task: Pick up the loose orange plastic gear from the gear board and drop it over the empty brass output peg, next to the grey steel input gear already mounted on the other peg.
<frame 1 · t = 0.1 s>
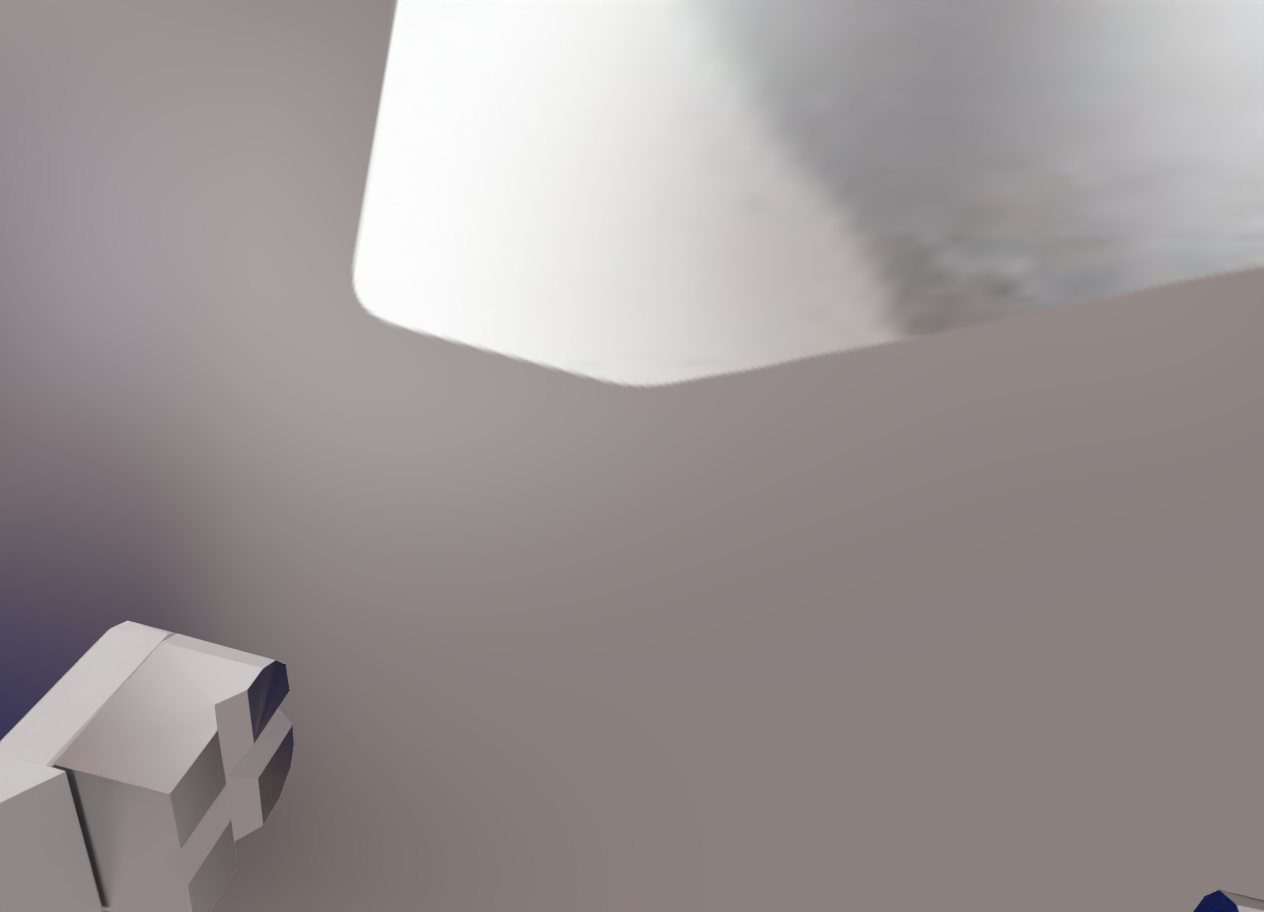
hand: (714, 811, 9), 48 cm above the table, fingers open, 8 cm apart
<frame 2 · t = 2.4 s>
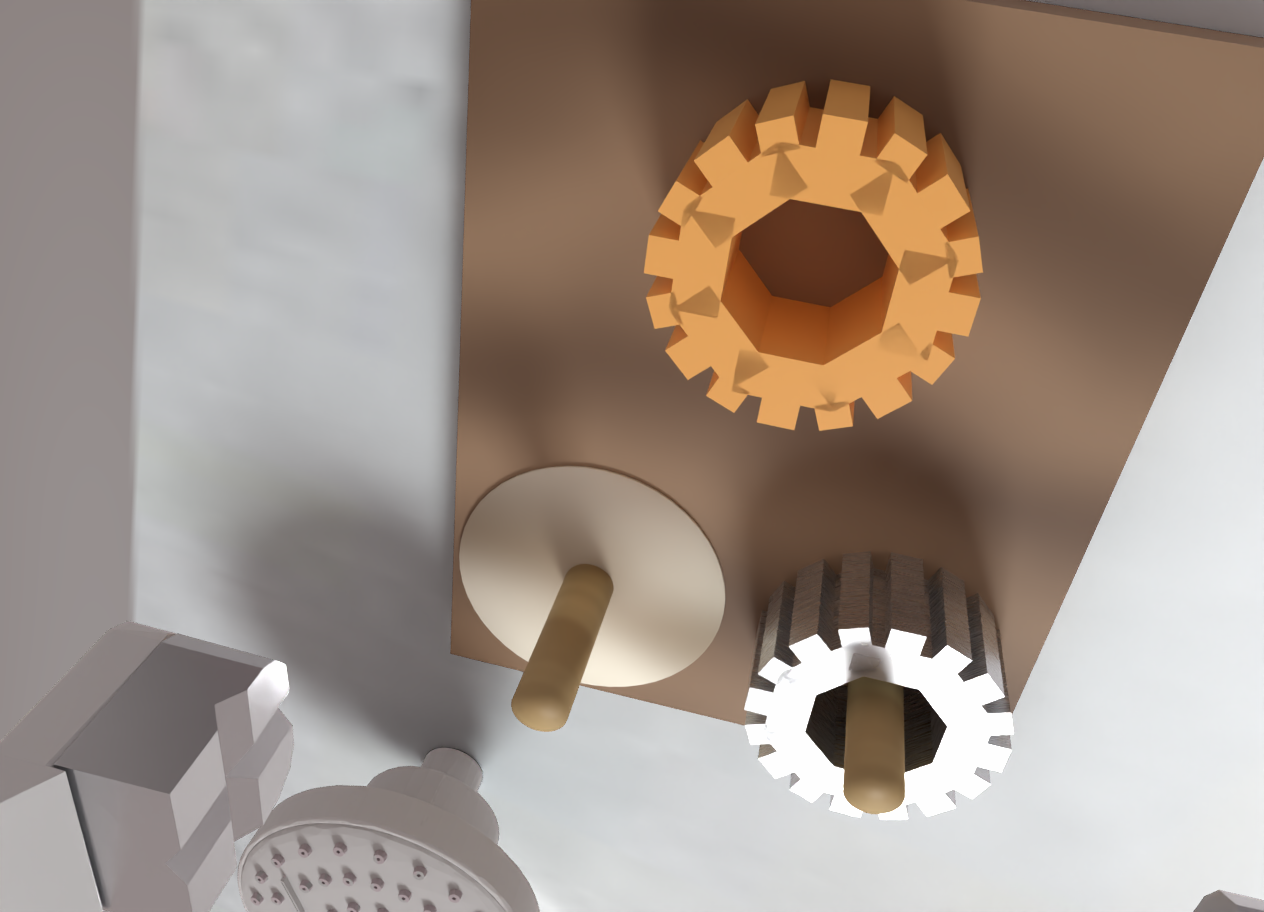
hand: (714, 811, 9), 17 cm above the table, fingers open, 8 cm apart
input gear: (876, 648, 28), resting on gear board
gear board: (778, 400, 26), on the table
showerhead: (462, 765, 37), on the table
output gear: (816, 234, 22), point 1 cm above the table, touching gear board
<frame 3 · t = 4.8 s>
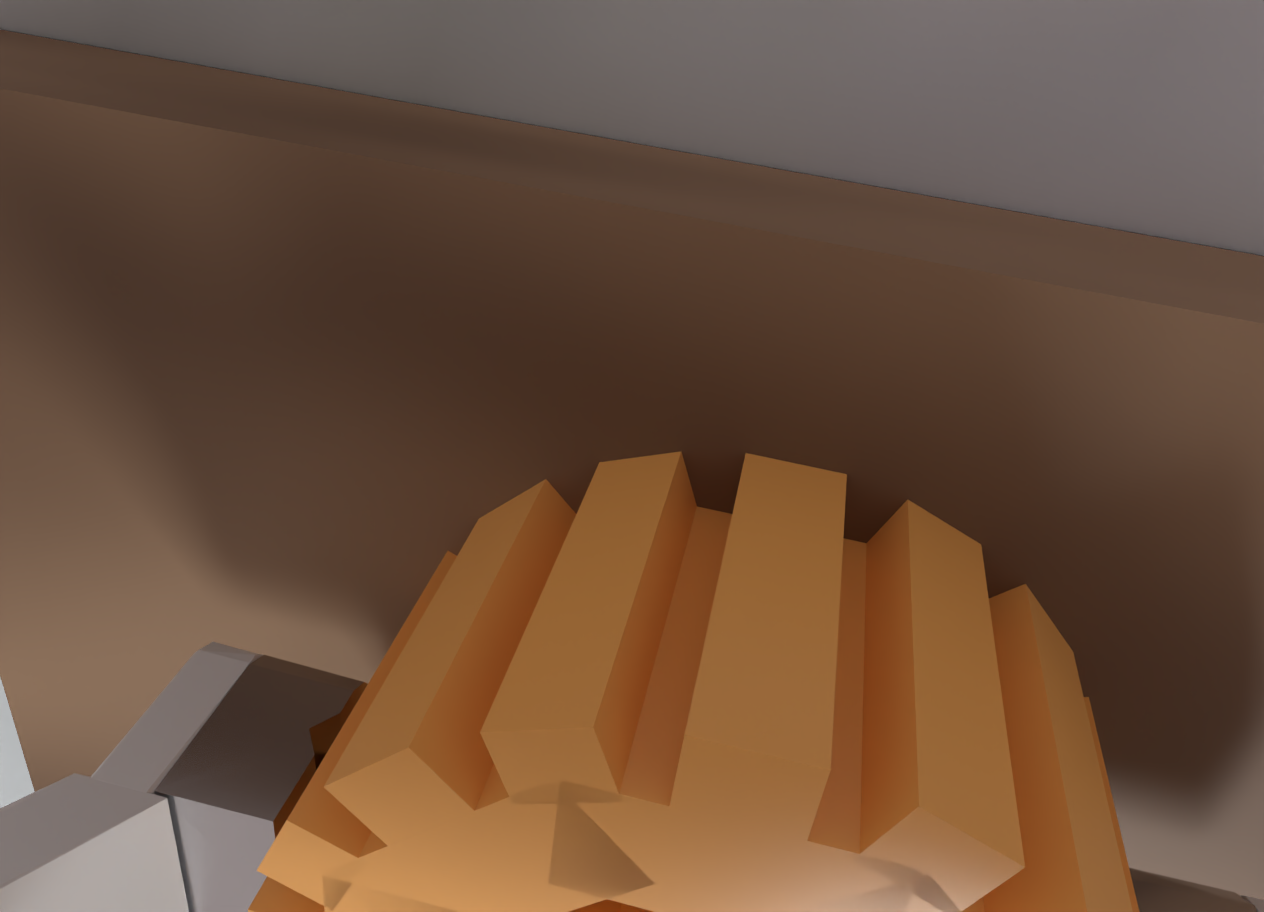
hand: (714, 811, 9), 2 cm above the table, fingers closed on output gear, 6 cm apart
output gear: (727, 742, 10), point 2 cm above the table, touching gear board, gripper
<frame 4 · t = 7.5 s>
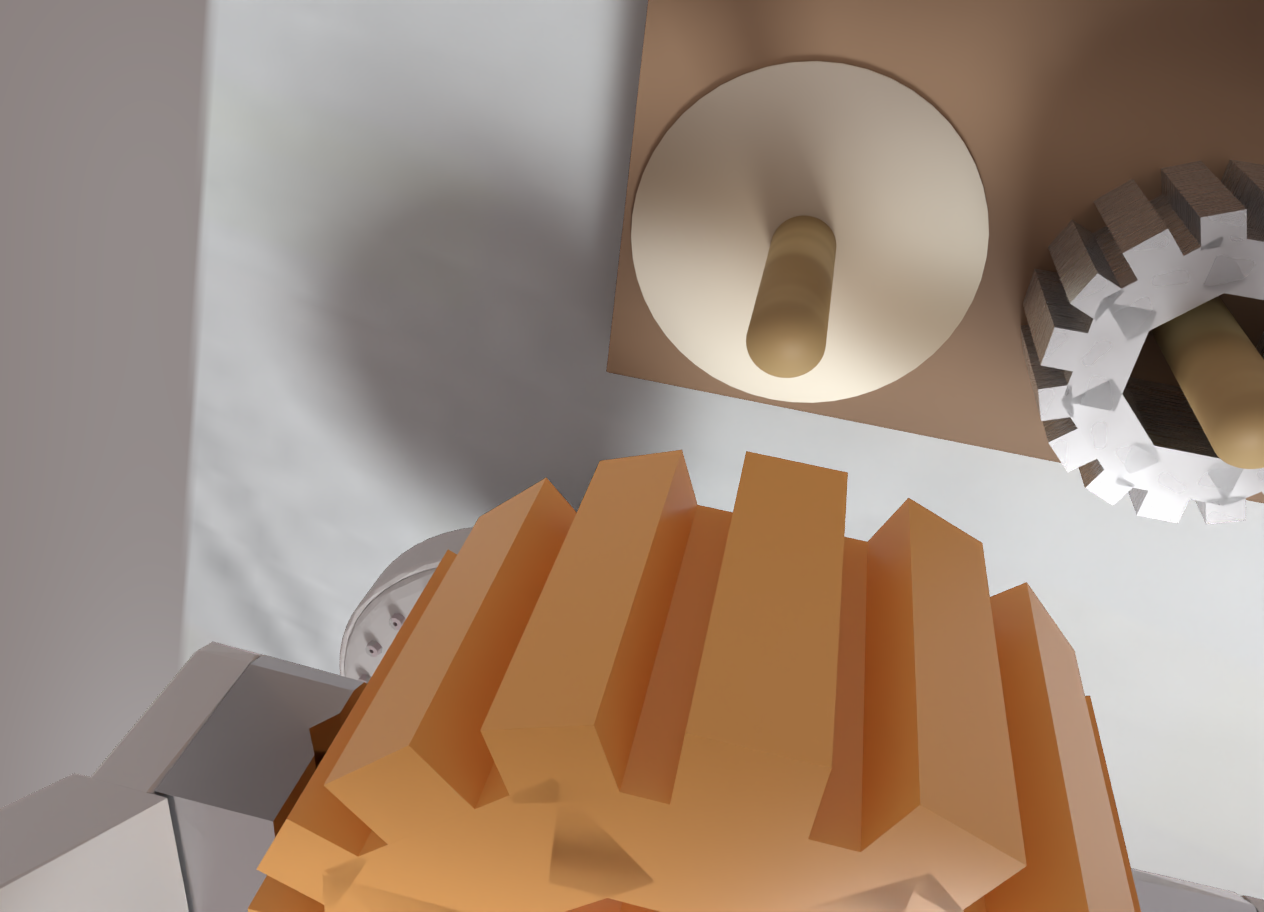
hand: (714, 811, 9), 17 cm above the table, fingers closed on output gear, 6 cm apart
input gear: (1184, 314, 21), resting on gear board
showerhead: (595, 556, 30), on the table
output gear: (727, 741, 10), point 16 cm above the table, touching gripper
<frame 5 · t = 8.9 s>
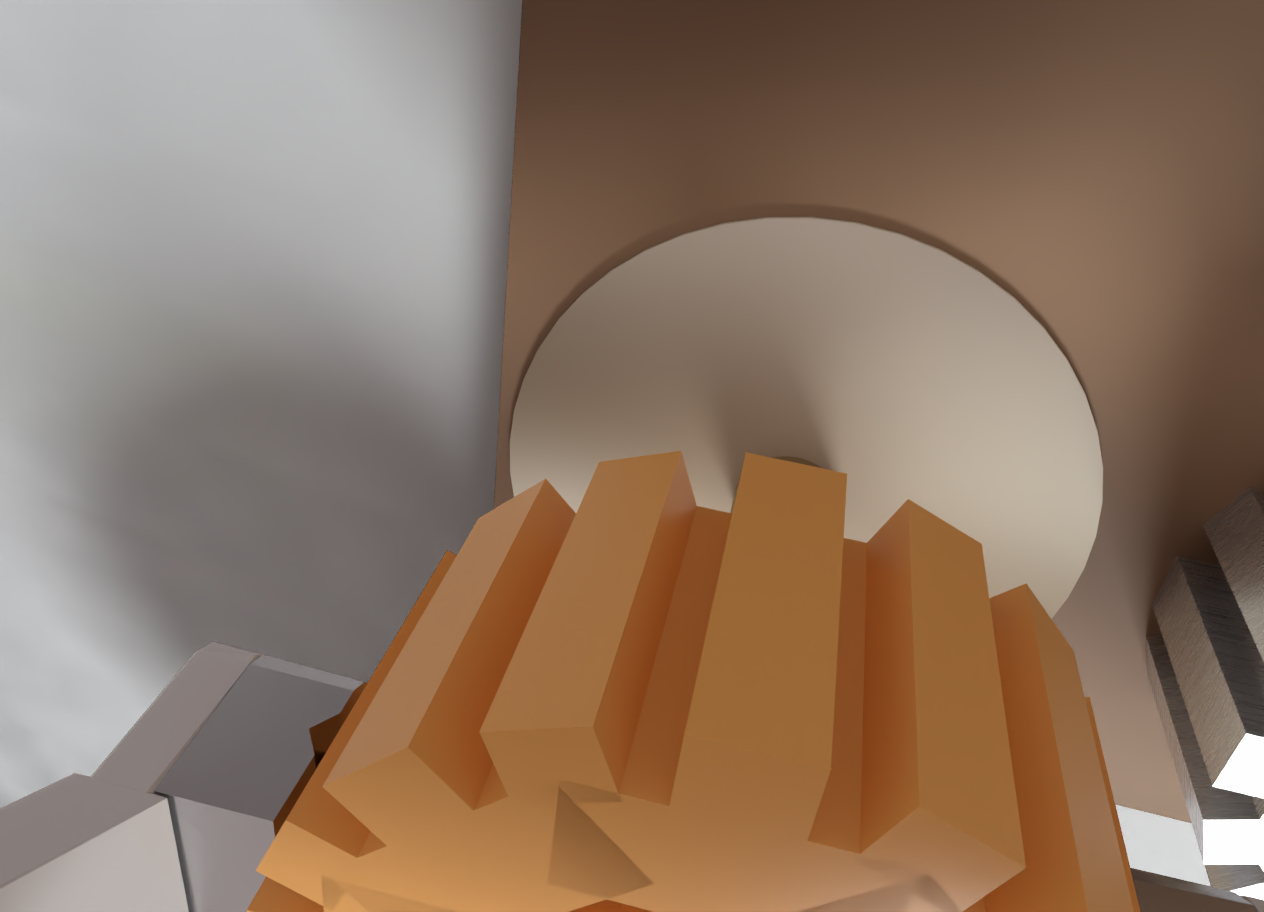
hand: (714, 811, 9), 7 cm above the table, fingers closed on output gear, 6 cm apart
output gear: (727, 742, 10), point 6 cm above the table, touching gripper
when the fingers open (4 cm above the table, at t = 10.3 s): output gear drops 2 cm, resting on gear board.
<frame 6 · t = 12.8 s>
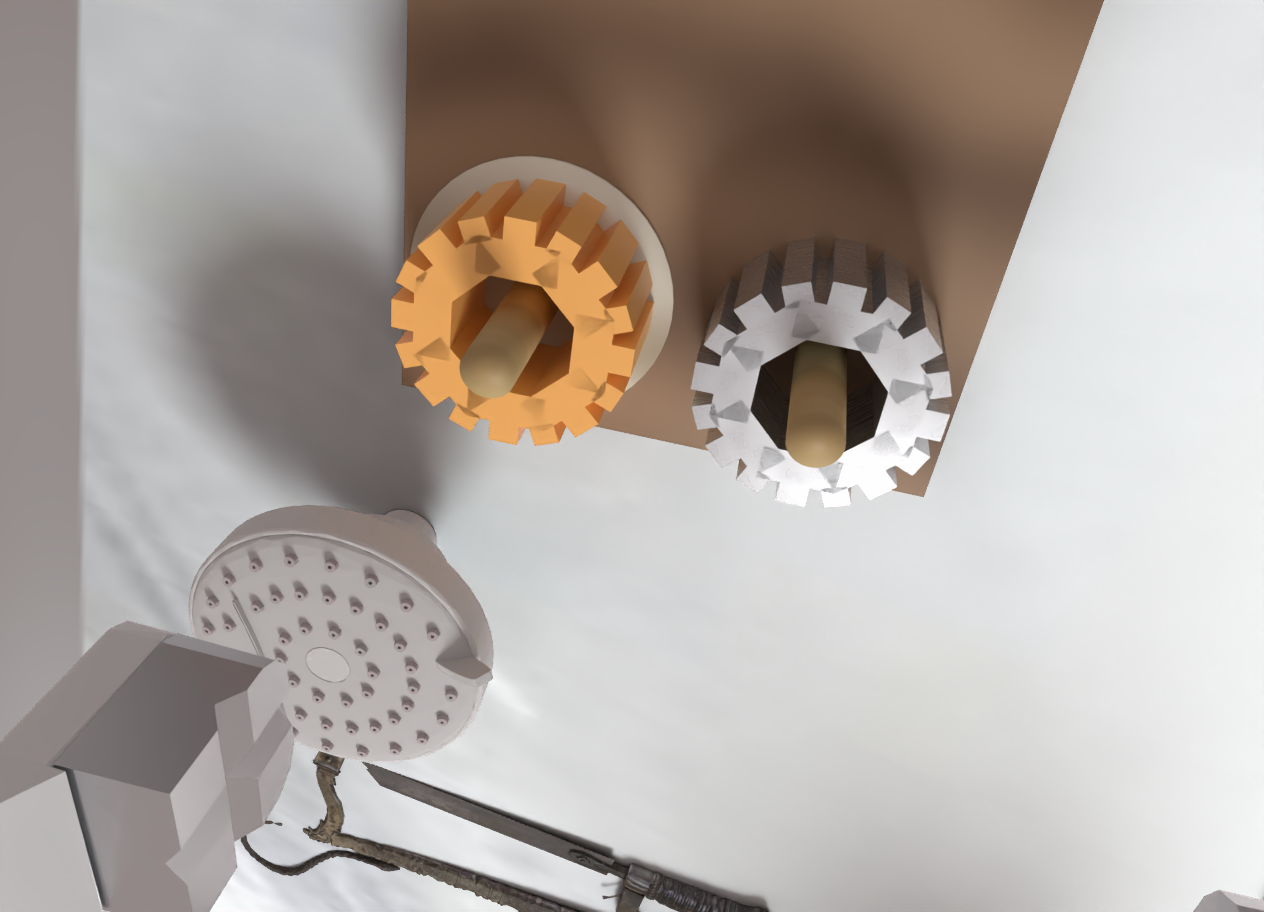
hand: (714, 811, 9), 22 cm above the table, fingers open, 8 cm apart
input gear: (821, 349, 28), resting on gear board
gear board: (724, 87, 27), on the table
hacksaw: (500, 873, 47), on the table
showerhead: (416, 531, 37), on the table
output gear: (540, 292, 29), point 2 cm above the table, touching gear board
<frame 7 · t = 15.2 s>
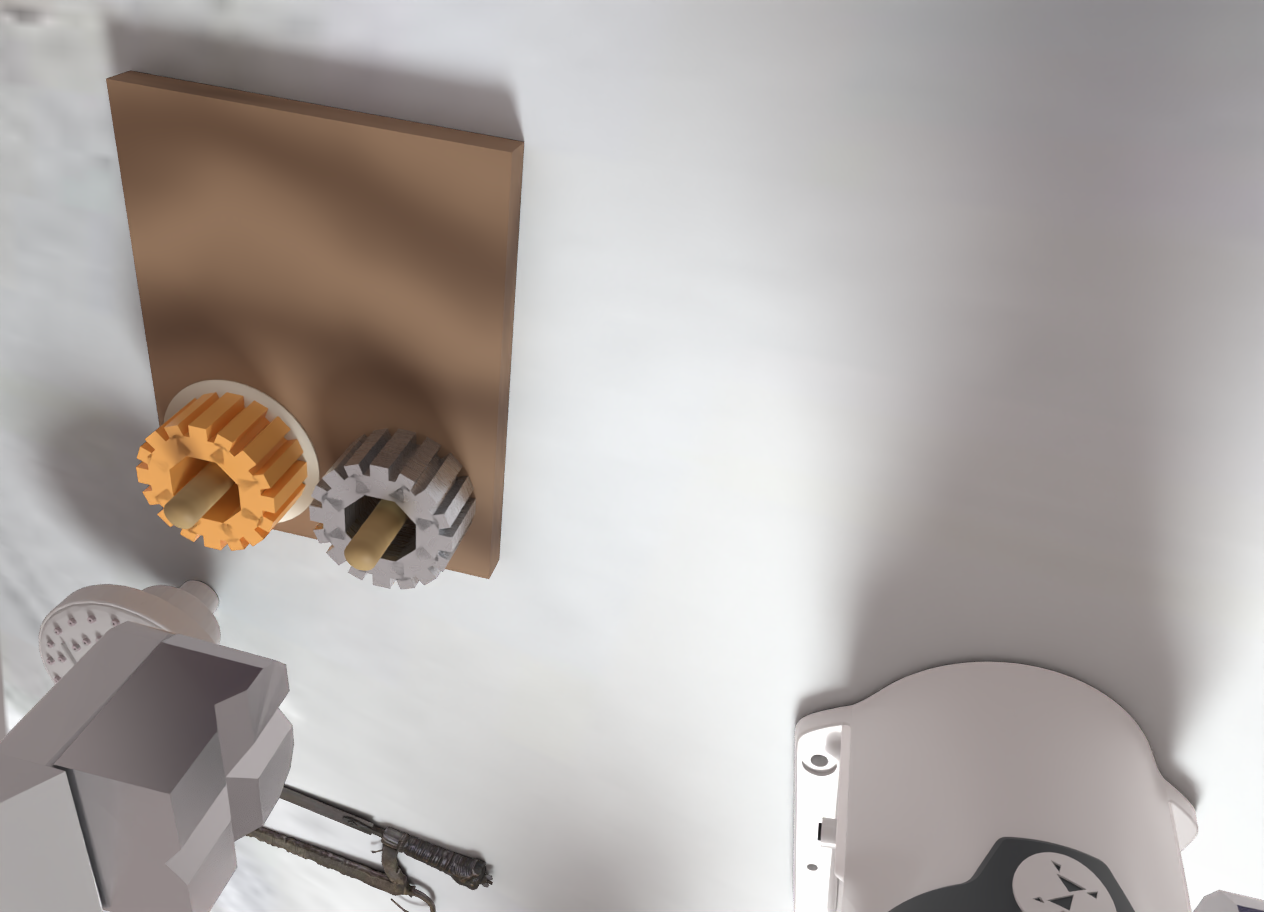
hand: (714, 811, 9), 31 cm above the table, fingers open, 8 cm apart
input gear: (407, 490, 46), resting on gear board
gear board: (333, 339, 45), on the table
hacksaw: (305, 835, 65), on the table
showerhead: (206, 594, 55), on the table
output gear: (241, 454, 47), point 2 cm above the table, touching gear board
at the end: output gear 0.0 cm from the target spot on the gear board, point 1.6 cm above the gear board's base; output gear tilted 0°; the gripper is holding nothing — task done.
